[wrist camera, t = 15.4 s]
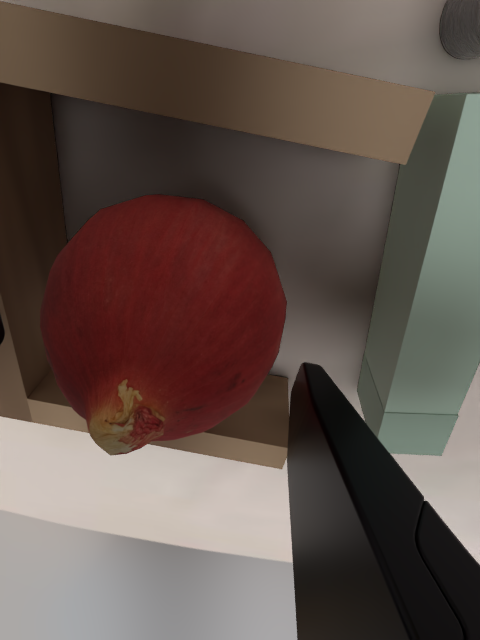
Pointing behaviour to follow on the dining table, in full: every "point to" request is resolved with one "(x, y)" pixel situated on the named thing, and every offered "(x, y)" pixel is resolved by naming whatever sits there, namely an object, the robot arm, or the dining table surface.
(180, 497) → the dining table surface
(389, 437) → the leg bar
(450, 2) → the pin
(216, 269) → the pomegranate
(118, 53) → the brown u-shaped frame
